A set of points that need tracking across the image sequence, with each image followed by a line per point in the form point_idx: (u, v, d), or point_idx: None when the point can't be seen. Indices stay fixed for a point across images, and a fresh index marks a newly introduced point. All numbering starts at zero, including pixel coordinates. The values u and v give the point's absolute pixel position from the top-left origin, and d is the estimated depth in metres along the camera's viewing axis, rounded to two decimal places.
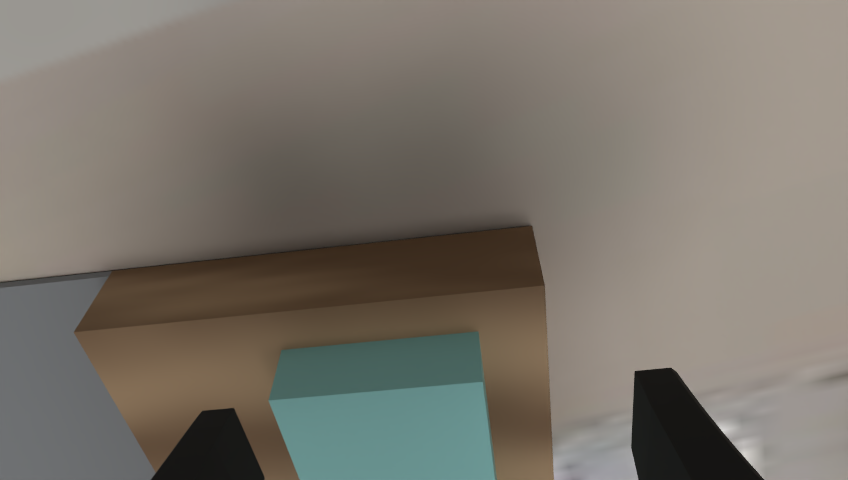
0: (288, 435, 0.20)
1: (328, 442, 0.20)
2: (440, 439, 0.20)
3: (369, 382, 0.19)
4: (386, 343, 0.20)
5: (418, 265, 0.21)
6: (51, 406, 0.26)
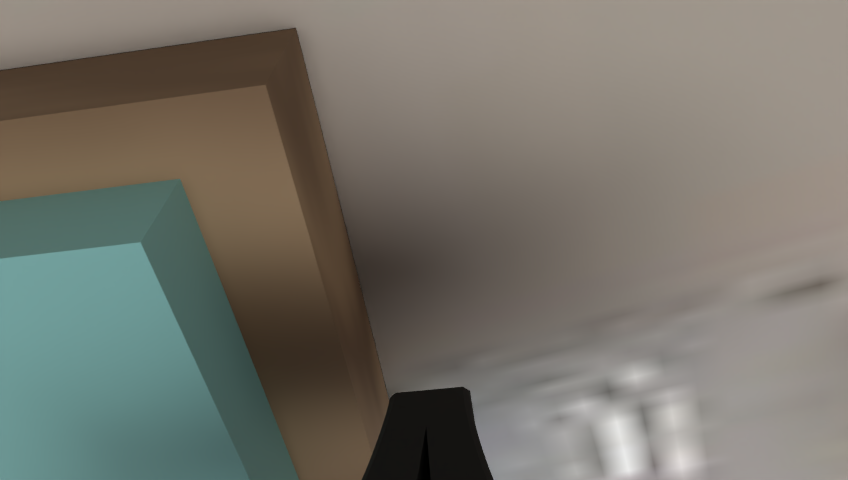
0: None
1: None
2: (111, 356, 0.12)
3: None
4: (31, 201, 0.12)
5: (95, 79, 0.13)
6: None
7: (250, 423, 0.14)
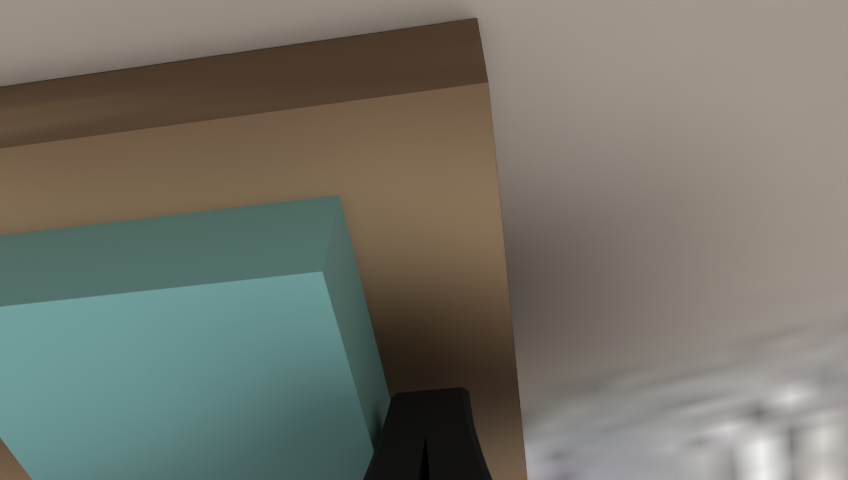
0: None
1: (56, 403, 0.11)
2: (265, 396, 0.10)
3: (108, 280, 0.10)
4: (169, 219, 0.11)
5: (264, 77, 0.11)
6: None
7: None
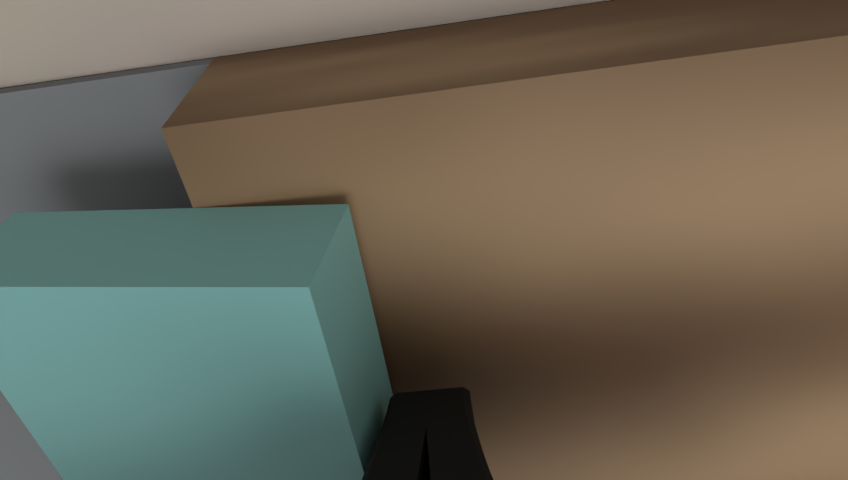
0: None
1: (60, 382, 0.11)
2: (255, 402, 0.10)
3: (108, 272, 0.10)
4: (181, 213, 0.11)
5: None
6: None
7: None
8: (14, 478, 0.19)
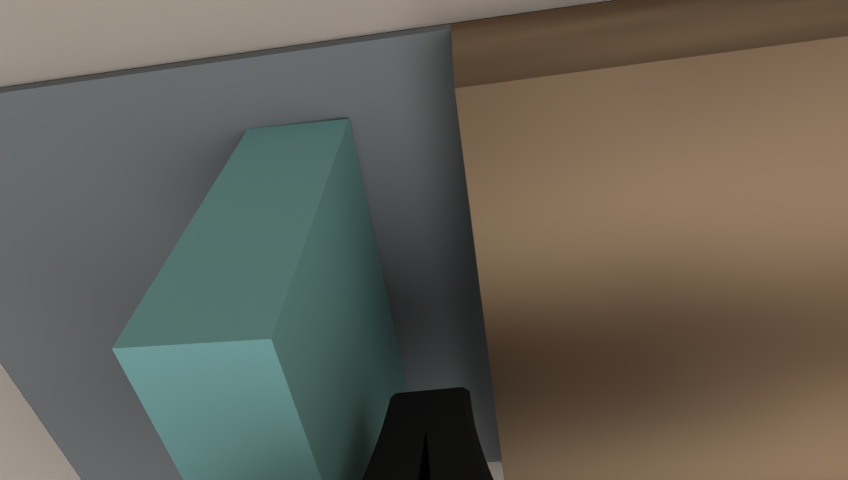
0: None
1: None
2: None
3: (218, 206, 0.11)
4: (307, 212, 0.10)
5: None
6: None
7: None
8: (160, 465, 0.19)
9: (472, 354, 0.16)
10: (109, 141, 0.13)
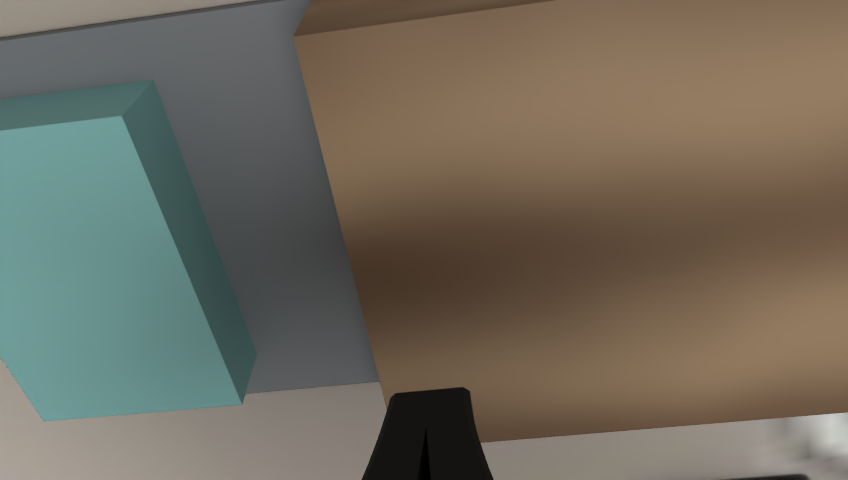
0: None
1: None
2: None
3: (32, 100, 0.16)
4: None
5: None
6: None
7: None
8: None
9: None
10: (43, 89, 0.16)
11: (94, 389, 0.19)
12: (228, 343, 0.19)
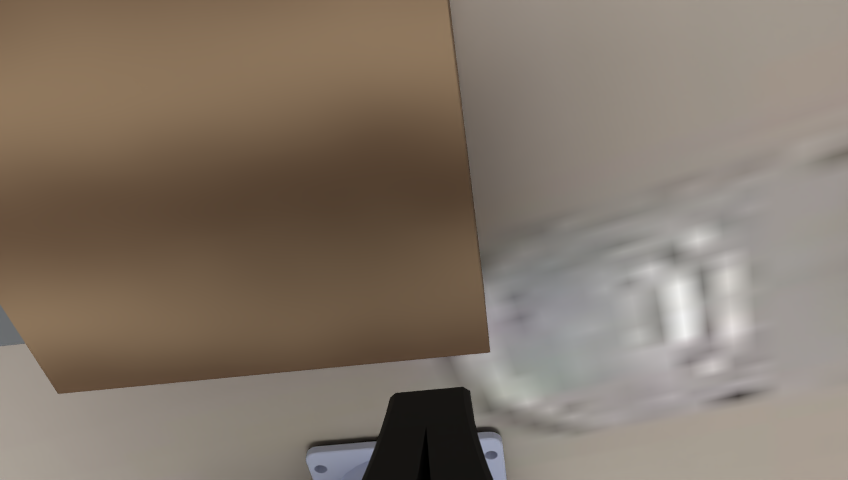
0: None
1: None
2: None
3: None
4: None
5: None
6: None
7: None
8: None
9: None
10: None
11: None
12: None
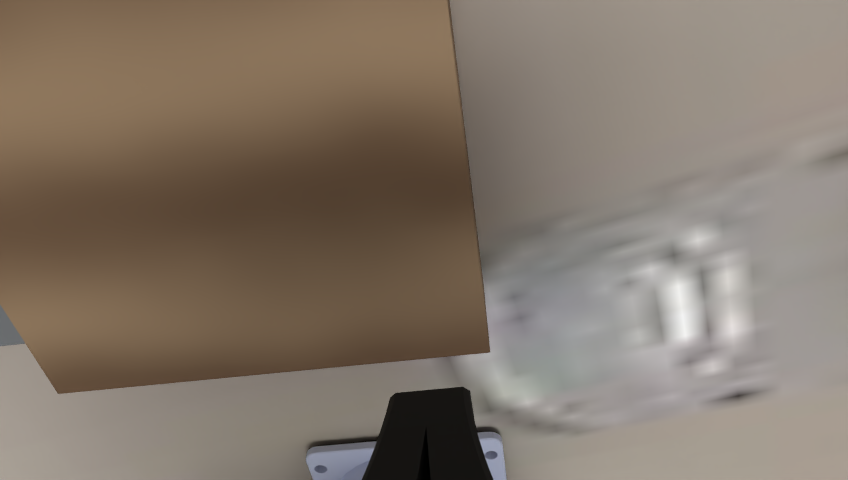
0: None
1: None
2: None
3: None
4: None
5: None
6: None
7: None
8: None
9: None
10: None
11: None
12: None
